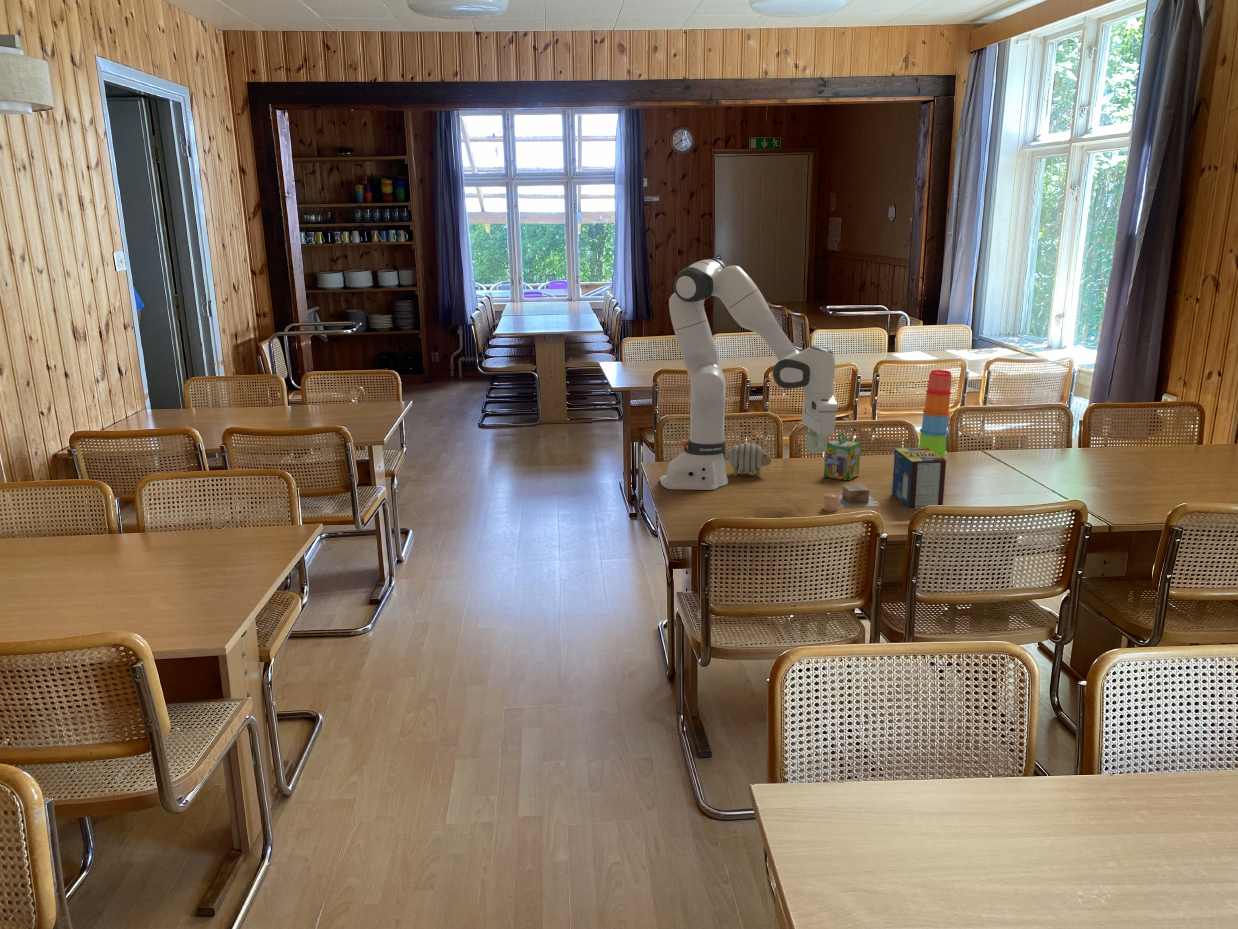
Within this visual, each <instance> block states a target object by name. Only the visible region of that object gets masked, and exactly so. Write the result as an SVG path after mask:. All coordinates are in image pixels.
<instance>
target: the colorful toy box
mask: <svg viewBox="0 0 1238 929" xmlns="http://www.w3.org/2000/svg"><path fill="white" fill-rule="evenodd" d="M837 437H838V438H837V439H833V440H831V441H829V442H827V452H824V467H823V468H824V470H823V471H824V473H823V478H825V477H829V478H828V479H833V478H836V479H835V480H841V479H846V480H845V481H847V480H849V479H851V480H853V479H854V478H853V477H855V476H856V475H858V474H859V475H860V459H861V442H856V441H853V440H852V441H850V440H847V439H846V436H845V432H843V431H842V432H839V433H838V434H837ZM841 438H842V439H841ZM852 478H853V479H852ZM855 478H856V477H855ZM849 481H850V480H849Z"/></svg>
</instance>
